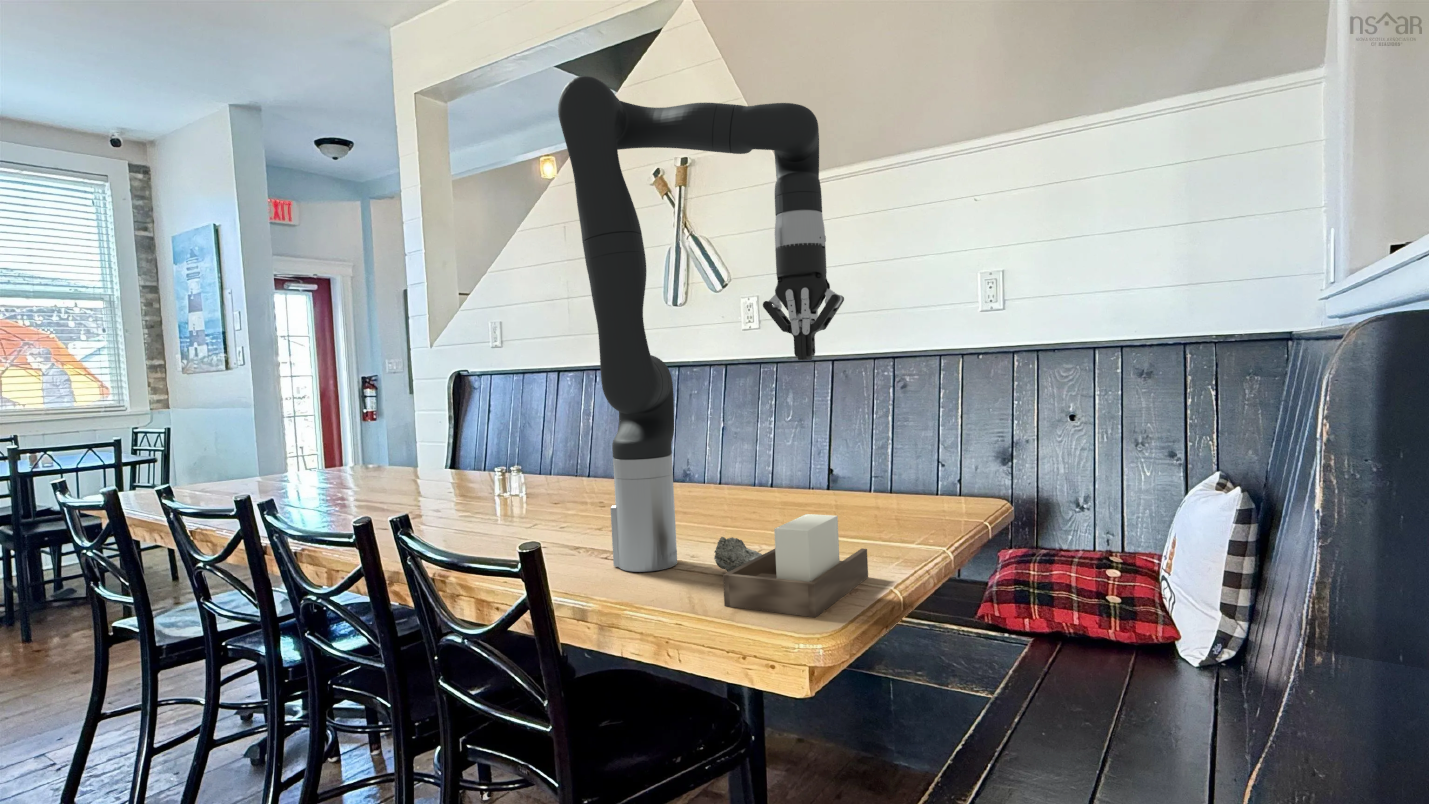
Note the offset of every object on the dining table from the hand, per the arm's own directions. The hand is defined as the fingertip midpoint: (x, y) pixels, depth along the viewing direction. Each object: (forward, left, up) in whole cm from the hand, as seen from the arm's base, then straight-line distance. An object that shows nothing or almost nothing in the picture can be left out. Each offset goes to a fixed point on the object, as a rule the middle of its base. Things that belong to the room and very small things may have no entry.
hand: (805, 360), depth 117 cm
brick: (+7, -17, -29) cm, 34 cm away
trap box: (+4, -14, -31) cm, 34 cm away
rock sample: (-7, -8, -31) cm, 33 cm away
